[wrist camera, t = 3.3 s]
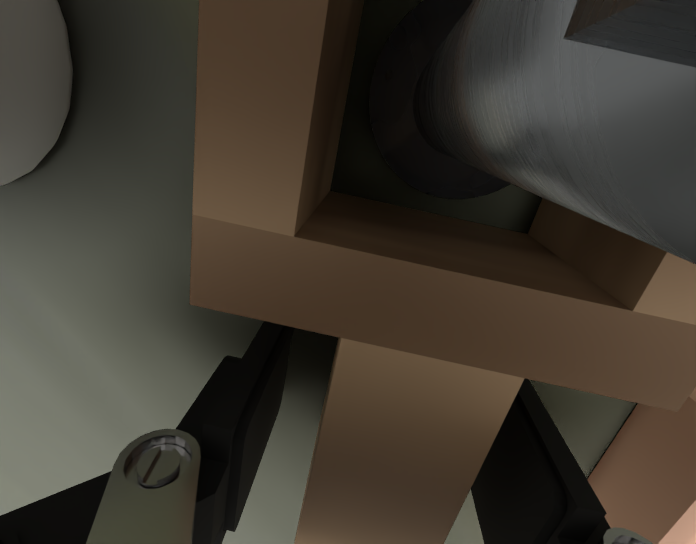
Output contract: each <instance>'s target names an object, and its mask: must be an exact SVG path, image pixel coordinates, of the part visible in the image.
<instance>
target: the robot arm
mask: <svg viewBox="0 0 696 544" xmlns="http://www.w3.org/2000/svg"><path fill="white" fill-rule="evenodd" d="M292 333H293V327H289V326H285V325H280V324H276V323H271V322H267V321H264V323H263V324H262V326H261V328H260V329H259V331H258V333H257V334H256V336H255V338H254V339H253V341H252V343H251V344H250V346H249V348H248V349H247V351H246V353H245V354H244V356H243V358H242V359H241V358H237V357H232V356H226V357H225V358H224V359H223V360H222V362H221V363H220V364H219V366H218V367H217V369H216V370H215V372H214V373H213V375H212V376H211V378H210V379H209V381H208V382H207V384H206V385H205V387H204V388H203V390H202V391H201V392H200V394H199V395H198V397H197V398H196V400H195V401H194V403H193V404H192V406H191V407H190V409H189V410H188V412H187V413H186V415H185V416H184V417H183V419H182V420H181V422H180V423H179V425H178V426H177V428H176V429H162V430H156V431H152V432H150V433H147V434H145V435H142V436H140V437H139V438H137V439H135V440H134V441H132V442H131V443H129V444H128V445H127V447H126V448H125V449H124V450H123V451H122V452H121V453H120V454H119V456H118V458H117V460H116V462H115V463H114V466H113V469H112V471H111V472H108V473H106V474H103V475H101V476H98V477H96V478H93V479H91V480H88V481H86V482H83V483H81V484H78V485H76V486H73V487H71V488H68V489H66V490H63V491H61V492H58V493H56V494H53V495H51V496H48V497H46V498H43V499H41V500H38V501H36V502H33V503H31V504H28V505H26V506H23V507H21V508H19V509H16V510H14V511H11V512H9V513H6V514H4V515H1V516H0V544H222V541H223V538H224V536H225V533H226V531H227V530H229V531H233V532H235V530H236V528H237V525H238V523H239V520H240V517H241V514H242V512H243V509H244V506H245V503H246V500H247V498H248V495H249V492H250V489H251V487H252V484H253V481H254V478H255V475H256V473H257V470H258V467H259V464H260V462H261V459H262V456H263V453H264V450H265V448H266V445H267V442H268V439H269V437H270V434H271V431H272V428H273V425H274V423H275V420H276V417H277V414H278V411H279V408H280V404H281V400H282V394H283V388H284V382H285V376H286V370H287V363H288V357H289V351H290V345H291V339H292ZM471 492H472V496H473V500H474V504H475V508H476V512H477V516H478V520H479V524H480V528H481V532H482V536H483V540H484V544H653V543H652V542H650V541H649V540H647V539H646V538H644V537H642V536H641V535H639V534H637V533H635V532H633V531H630V530H627V529H625V528H616V527H614V528H611V527H610V526H609V524H608V522H607V520H606V519H605V517H604V516H605V515H606V514H607V513H606V511H605V509H604V508H603V506H602V504H601V503H600V501H599V499H598V497H597V496H596V494H595V492H594V491H593V489H592V487H591V485H590V484H589V482H588V480H587V479H586V477H585V475H584V473H583V472H582V470H581V468H580V467H579V465H578V463H577V461H576V460H575V458H574V456H573V455H572V453H571V451H570V449H569V448H568V446H567V444H566V443H565V441H564V439H563V438H562V436H561V434H560V432H559V431H558V429H557V427H556V426H555V424H554V422H553V420H552V419H551V417H550V415H549V414H548V412H547V410H546V408H545V407H544V405H543V403H542V402H541V400H540V398H539V396H538V395H537V393H536V391H535V390H534V388H533V386H532V384H531V383H530V381H529V379H526V378H524V381H523V383H522V385H521V387H520V389H519V391H518V393H517V395H516V397H515V399H514V401H513V403H512V405H511V407H510V409H509V411H508V413H507V415H506V417H505V419H504V421H503V423H502V425H501V427H500V430H499V432H498V434H497V436H496V438H495V440H494V442H493V444H492V446H491V448H490V450H489V452H488V454H487V456H486V458H485V460H484V462H483V464H482V466H481V468H480V470H479V472H478V474H477V477H476V479H475V481H474V483H473V485H472V487H471Z"/></svg>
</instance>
